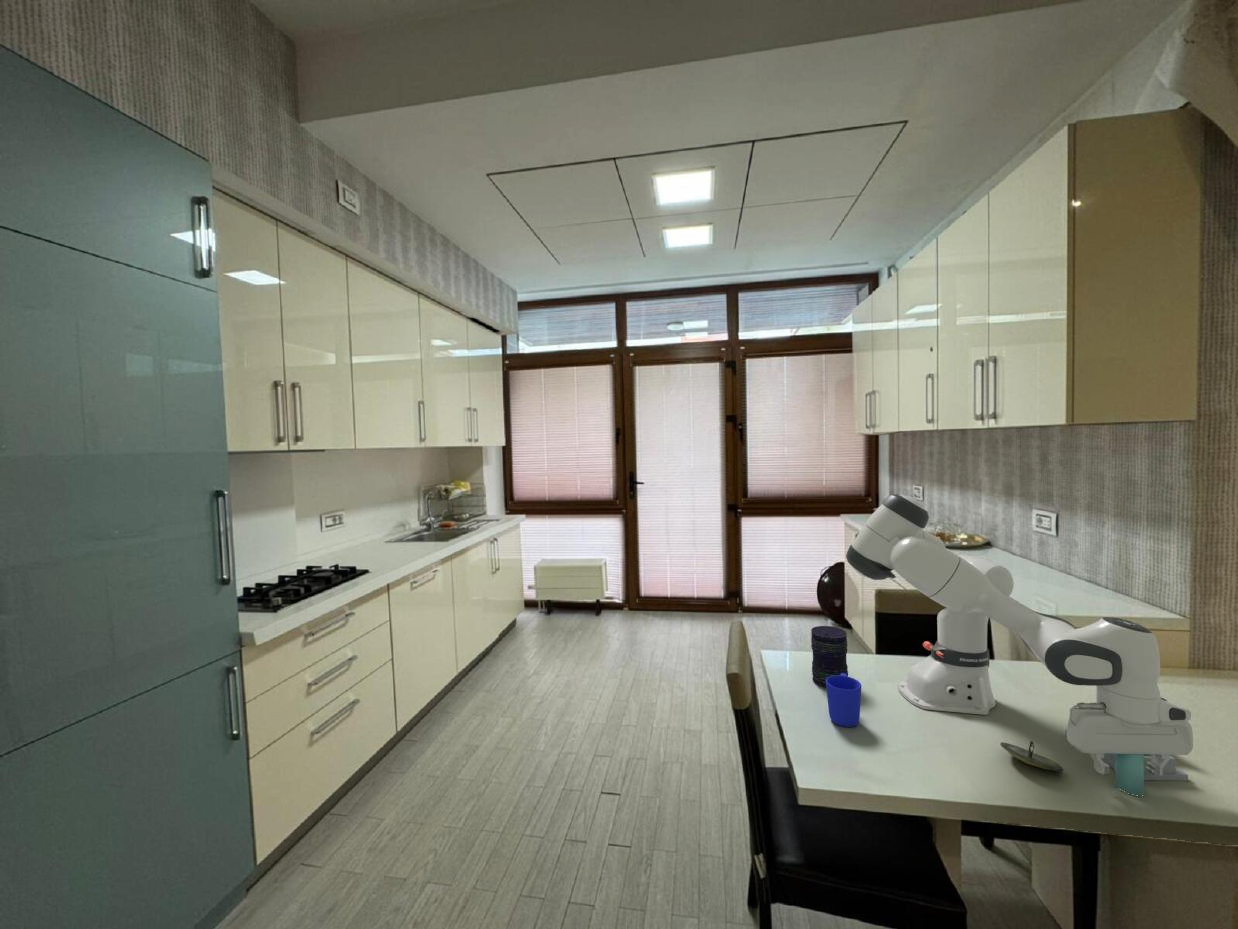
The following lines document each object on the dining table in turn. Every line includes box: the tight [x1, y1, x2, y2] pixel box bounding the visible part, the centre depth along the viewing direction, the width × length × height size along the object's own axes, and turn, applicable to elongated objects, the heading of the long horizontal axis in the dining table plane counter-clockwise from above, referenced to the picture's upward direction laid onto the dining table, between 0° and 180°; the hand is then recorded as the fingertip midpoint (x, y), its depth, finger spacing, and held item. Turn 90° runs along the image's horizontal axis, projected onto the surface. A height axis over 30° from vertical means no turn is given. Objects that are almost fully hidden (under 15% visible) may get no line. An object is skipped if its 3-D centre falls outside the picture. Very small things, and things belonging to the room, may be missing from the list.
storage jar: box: [810, 625, 849, 689], centre depth 148 cm, size 10×10×15 cm
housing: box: [1064, 729, 1189, 782], centre depth 109 cm, size 16×11×4 cm
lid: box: [999, 740, 1064, 773], centre depth 107 cm, size 11×10×5 cm
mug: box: [825, 673, 862, 728], centre depth 128 cm, size 8×12×10 cm
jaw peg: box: [1114, 754, 1145, 797], centre depth 99 cm, size 4×4×8 cm
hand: (1128, 773), depth 99 cm, fingers open, 8 cm apart
